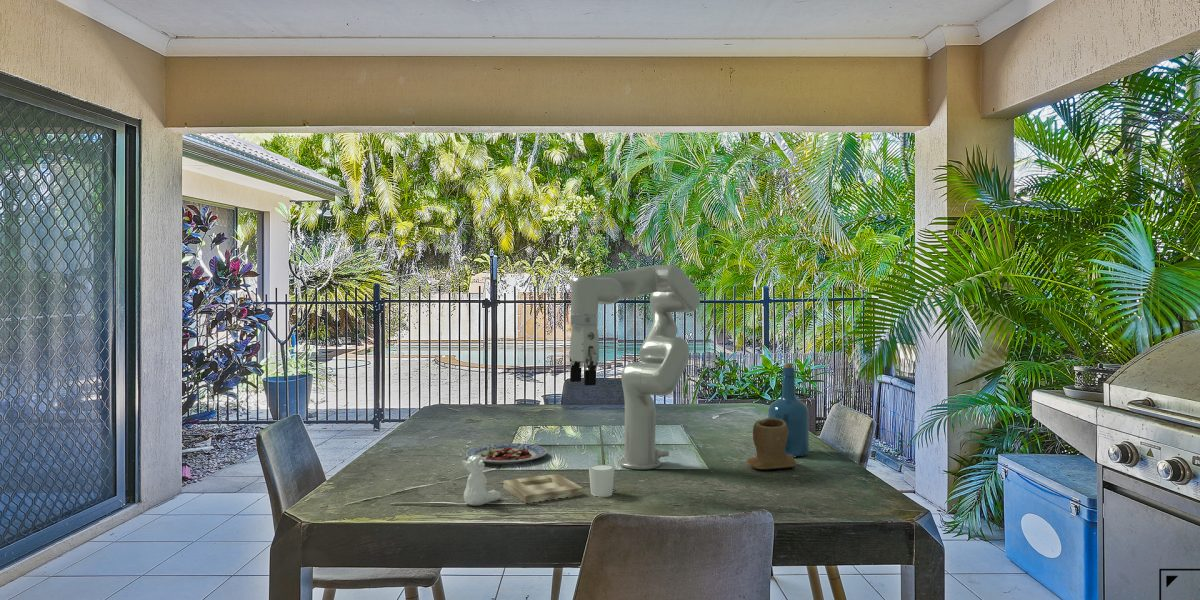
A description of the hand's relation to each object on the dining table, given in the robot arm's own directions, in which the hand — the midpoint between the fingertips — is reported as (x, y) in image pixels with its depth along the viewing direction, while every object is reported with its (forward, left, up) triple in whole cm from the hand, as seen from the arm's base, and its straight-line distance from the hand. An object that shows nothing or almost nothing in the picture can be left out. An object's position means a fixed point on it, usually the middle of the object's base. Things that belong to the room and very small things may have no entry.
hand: (582, 383), depth 188 cm
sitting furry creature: (+31, +3, -28) cm, 42 cm away
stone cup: (-59, +11, -28) cm, 66 cm away
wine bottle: (-77, -2, -28) cm, 82 cm away
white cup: (0, +11, -28) cm, 30 cm away
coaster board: (+13, +2, -28) cm, 31 cm away
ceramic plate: (+8, -39, -28) cm, 49 cm away
